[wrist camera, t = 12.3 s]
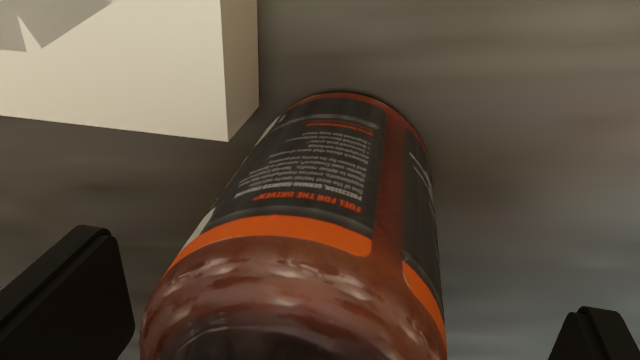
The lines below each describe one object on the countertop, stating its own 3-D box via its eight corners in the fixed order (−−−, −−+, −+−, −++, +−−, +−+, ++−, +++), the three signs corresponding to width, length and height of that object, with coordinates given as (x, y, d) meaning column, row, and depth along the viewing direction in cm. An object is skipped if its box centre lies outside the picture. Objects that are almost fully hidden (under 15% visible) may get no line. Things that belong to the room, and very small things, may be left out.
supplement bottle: (229, 131, 16) (-60, 444, 6) (383, 53, 14) (317, 345, 4) (312, 258, 18) (195, 647, 8) (458, 207, 16) (535, 654, 6)
